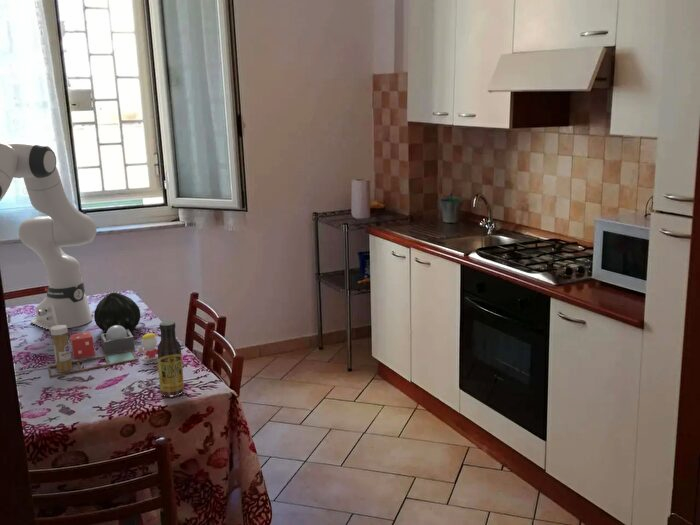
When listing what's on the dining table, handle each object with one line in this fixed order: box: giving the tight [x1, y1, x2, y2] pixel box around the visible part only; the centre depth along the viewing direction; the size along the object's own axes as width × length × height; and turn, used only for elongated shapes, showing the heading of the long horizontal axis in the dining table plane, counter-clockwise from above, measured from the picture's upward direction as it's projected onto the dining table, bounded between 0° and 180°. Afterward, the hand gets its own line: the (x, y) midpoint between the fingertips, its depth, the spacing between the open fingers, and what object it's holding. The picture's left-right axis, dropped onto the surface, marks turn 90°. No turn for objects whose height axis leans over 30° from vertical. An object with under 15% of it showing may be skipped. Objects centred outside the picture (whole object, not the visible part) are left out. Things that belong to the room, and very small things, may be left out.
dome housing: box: [100, 329, 135, 355], centre depth 225 cm, size 9×9×4 cm
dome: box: [106, 325, 127, 341], centre depth 225 cm, size 6×6×6 cm
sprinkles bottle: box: [49, 325, 73, 373], centre depth 207 cm, size 5×5×13 cm
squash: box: [93, 292, 141, 333], centre depth 240 cm, size 14×15×15 cm
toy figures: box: [137, 332, 158, 362], centre depth 214 cm, size 12×4×8 cm, turn 111°
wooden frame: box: [47, 349, 139, 379], centre depth 212 cm, size 25×9×1 cm, turn 117°
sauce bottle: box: [156, 320, 185, 396], centre depth 186 cm, size 7×6×20 cm
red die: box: [69, 331, 96, 359], centre depth 221 cm, size 6×6×6 cm
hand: (9, 320), depth 199 cm, fingers open, 3 cm apart
